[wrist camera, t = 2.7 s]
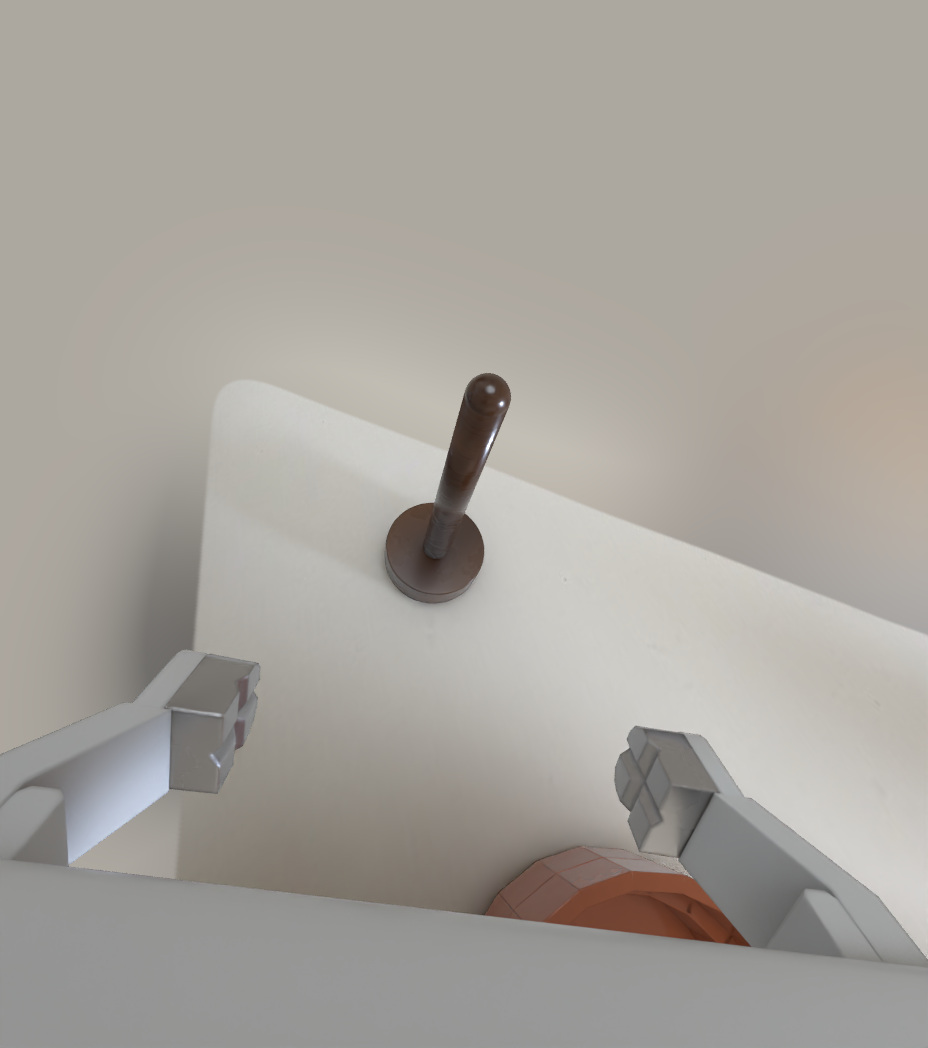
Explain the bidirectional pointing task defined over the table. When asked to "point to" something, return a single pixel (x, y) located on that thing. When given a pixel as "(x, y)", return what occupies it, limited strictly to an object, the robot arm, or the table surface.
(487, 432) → the masher
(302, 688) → the table surface
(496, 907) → the bowl
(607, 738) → the table surface
